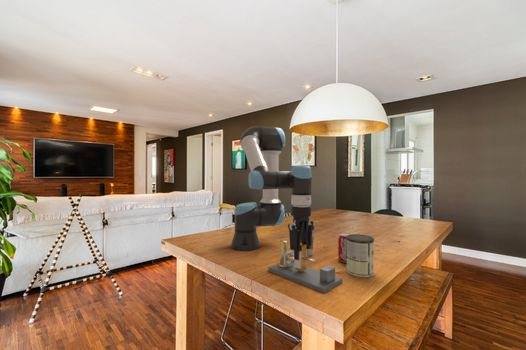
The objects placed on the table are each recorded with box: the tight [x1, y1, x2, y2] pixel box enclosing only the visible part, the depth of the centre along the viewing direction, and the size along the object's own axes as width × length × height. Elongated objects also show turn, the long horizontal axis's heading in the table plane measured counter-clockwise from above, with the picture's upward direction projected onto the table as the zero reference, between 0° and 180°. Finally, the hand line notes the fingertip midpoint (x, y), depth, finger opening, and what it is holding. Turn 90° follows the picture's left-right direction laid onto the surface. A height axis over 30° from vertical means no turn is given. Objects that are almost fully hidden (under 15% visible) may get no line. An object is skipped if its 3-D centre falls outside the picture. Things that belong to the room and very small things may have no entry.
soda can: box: [337, 232, 352, 264], centre depth 113 cm, size 7×7×12 cm
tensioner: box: [319, 265, 336, 284], centre depth 88 cm, size 3×5×4 cm, turn 134°
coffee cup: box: [298, 223, 315, 258], centre depth 122 cm, size 8×8×15 cm
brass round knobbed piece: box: [277, 239, 295, 268], centre depth 102 cm, size 8×5×10 cm, turn 44°
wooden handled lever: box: [284, 243, 316, 272], centre depth 97 cm, size 13×5×10 cm, turn 44°
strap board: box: [267, 260, 343, 294], centre depth 96 cm, size 26×12×2 cm, turn 44°
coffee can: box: [346, 233, 375, 278], centre depth 100 cm, size 10×10×14 cm
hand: (300, 266), depth 97 cm, fingers closed on wooden handled lever, 3 cm apart
